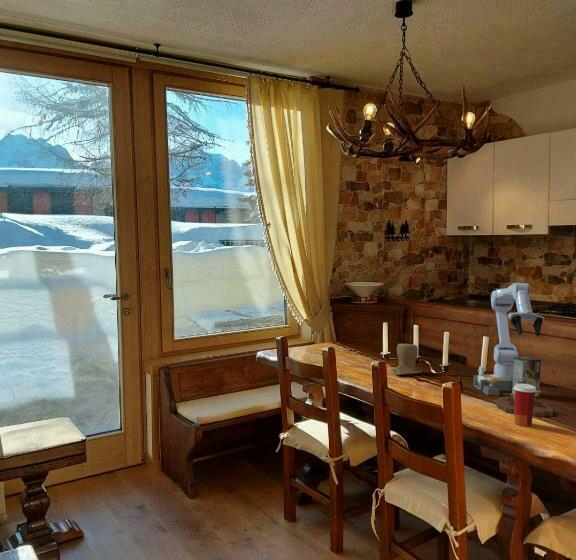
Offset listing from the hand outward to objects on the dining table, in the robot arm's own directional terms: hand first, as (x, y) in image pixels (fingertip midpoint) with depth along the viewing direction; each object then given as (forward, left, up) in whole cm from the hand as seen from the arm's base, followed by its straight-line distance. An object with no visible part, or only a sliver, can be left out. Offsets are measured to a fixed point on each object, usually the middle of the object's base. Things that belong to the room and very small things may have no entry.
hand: (529, 334), depth 234 cm
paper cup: (+33, -17, -28) cm, 46 cm away
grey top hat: (-42, -41, -28) cm, 64 cm away
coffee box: (-7, +3, -28) cm, 29 cm away
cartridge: (-16, -7, -26) cm, 31 cm away
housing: (-12, -7, -27) cm, 31 cm away
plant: (+14, -8, -28) cm, 32 cm away
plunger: (-7, -12, -25) cm, 28 cm away
